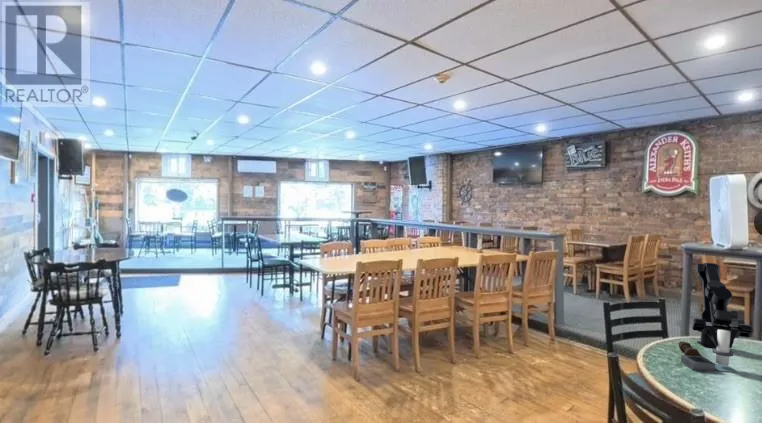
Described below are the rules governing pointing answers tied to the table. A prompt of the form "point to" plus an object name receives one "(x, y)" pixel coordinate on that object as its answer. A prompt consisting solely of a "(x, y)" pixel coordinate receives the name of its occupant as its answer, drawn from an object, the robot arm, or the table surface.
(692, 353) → the bolt
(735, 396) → the table surface
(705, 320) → the robot arm
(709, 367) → the block
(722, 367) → the mat
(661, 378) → the table surface
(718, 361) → the pin
